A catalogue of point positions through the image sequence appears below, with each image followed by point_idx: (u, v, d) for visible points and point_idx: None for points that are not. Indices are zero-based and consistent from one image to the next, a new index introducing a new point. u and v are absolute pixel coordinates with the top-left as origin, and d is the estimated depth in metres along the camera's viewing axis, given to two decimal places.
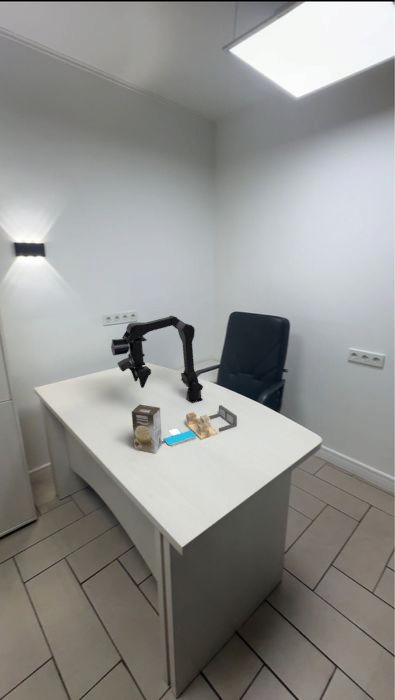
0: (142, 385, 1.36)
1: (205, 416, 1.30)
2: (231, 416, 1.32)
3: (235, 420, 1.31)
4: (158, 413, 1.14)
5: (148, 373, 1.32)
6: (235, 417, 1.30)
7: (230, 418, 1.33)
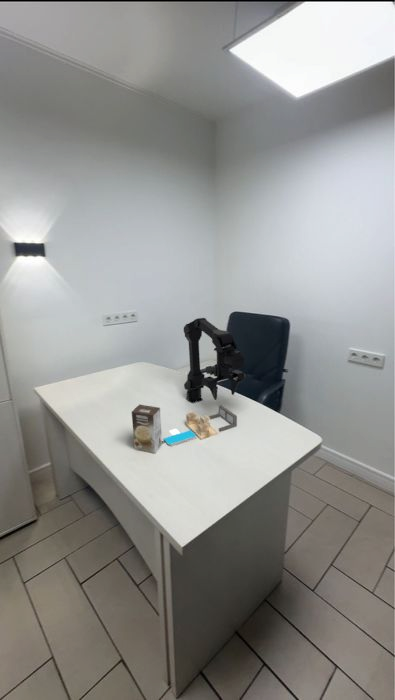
0: (213, 396, 1.31)
1: (205, 416, 1.30)
2: (231, 416, 1.32)
3: (235, 420, 1.31)
4: (158, 413, 1.14)
5: (207, 386, 1.25)
6: (235, 417, 1.30)
7: (230, 418, 1.33)
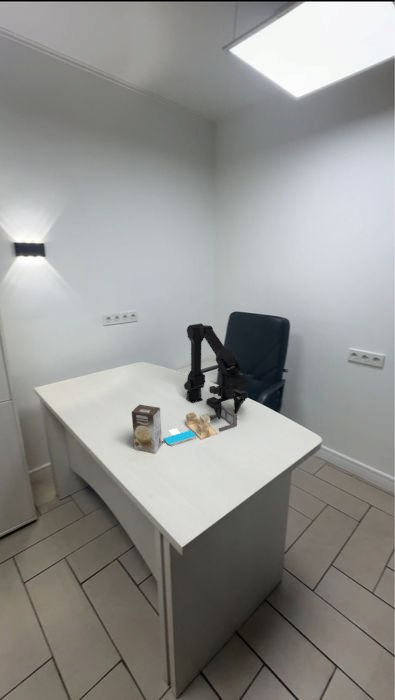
0: (217, 416, 1.33)
1: (205, 416, 1.30)
2: (231, 416, 1.32)
3: (235, 420, 1.31)
4: (158, 413, 1.14)
5: (212, 407, 1.27)
6: (235, 417, 1.30)
7: (230, 418, 1.33)
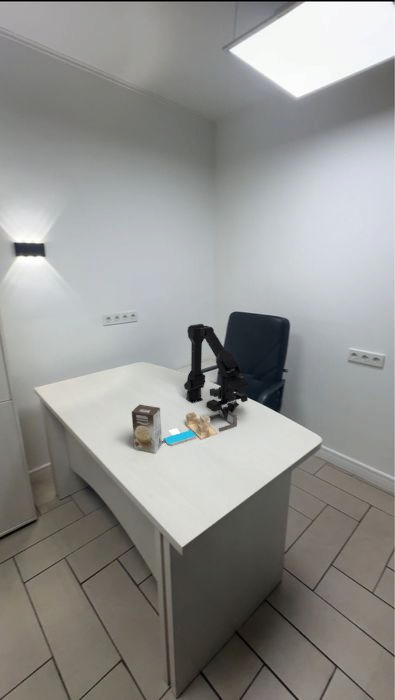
0: (224, 416, 1.35)
1: (205, 416, 1.30)
2: (231, 416, 1.32)
3: (235, 420, 1.31)
4: (158, 413, 1.14)
5: (212, 409, 1.28)
6: (235, 417, 1.30)
7: (230, 418, 1.33)
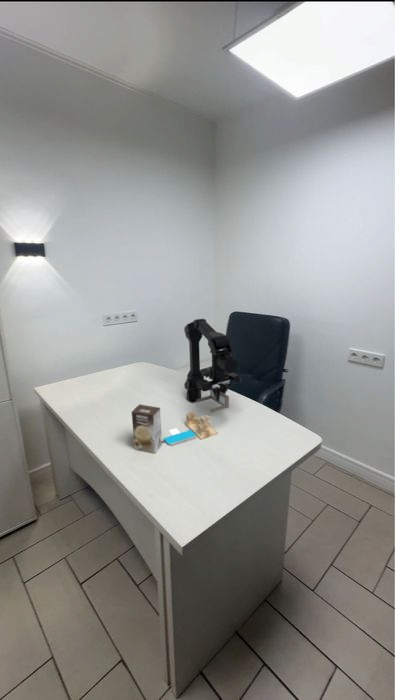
0: (215, 397, 1.30)
1: (205, 416, 1.30)
2: (223, 397, 1.27)
3: (227, 401, 1.26)
4: (158, 413, 1.14)
5: (202, 389, 1.23)
6: (227, 398, 1.25)
7: (222, 399, 1.28)
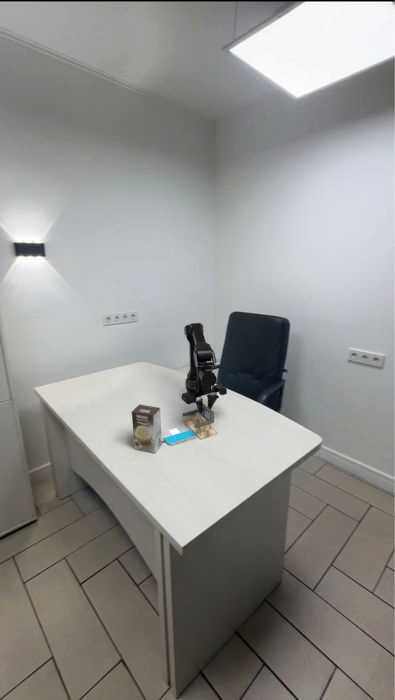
0: (199, 410, 1.28)
1: None
2: (208, 412, 1.25)
3: (212, 416, 1.24)
4: (158, 413, 1.14)
5: (186, 401, 1.21)
6: (212, 413, 1.24)
7: (207, 414, 1.26)
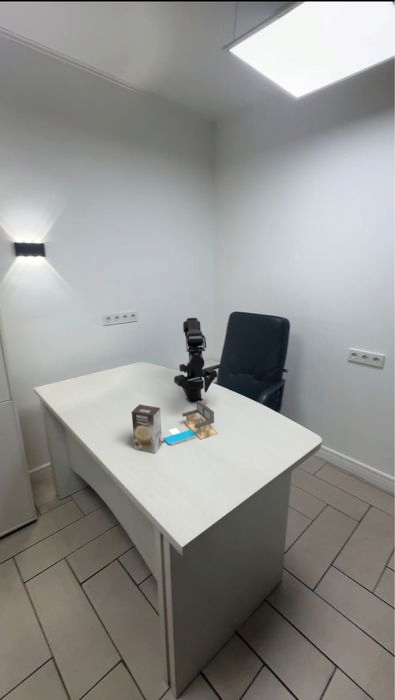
0: (185, 394, 1.34)
1: None
2: (208, 412, 1.25)
3: (212, 416, 1.24)
4: (158, 413, 1.14)
5: (178, 384, 1.28)
6: (212, 413, 1.24)
7: (207, 414, 1.26)
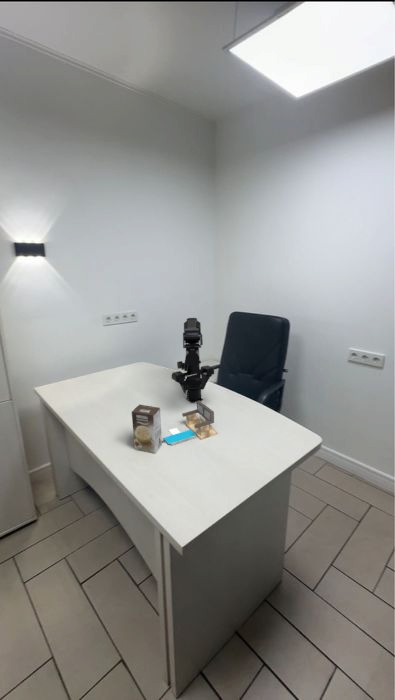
0: (183, 390, 1.36)
1: None
2: (208, 412, 1.25)
3: (212, 416, 1.24)
4: (158, 413, 1.14)
5: (175, 380, 1.31)
6: (212, 413, 1.24)
7: (207, 414, 1.26)
